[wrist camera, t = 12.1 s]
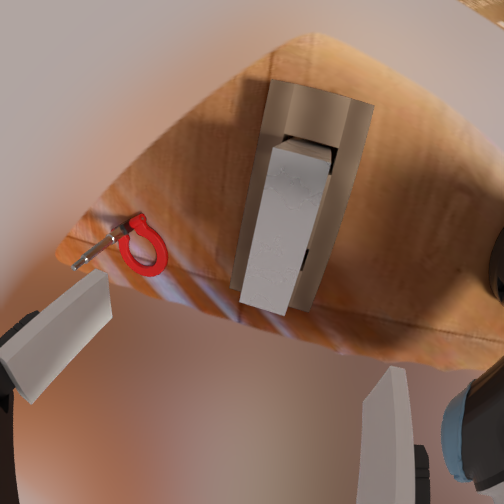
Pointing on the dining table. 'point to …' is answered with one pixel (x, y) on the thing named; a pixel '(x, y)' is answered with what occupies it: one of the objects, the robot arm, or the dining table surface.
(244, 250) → the slotted wooden block
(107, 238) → the tow hook
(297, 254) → the clip
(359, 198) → the dining table surface
